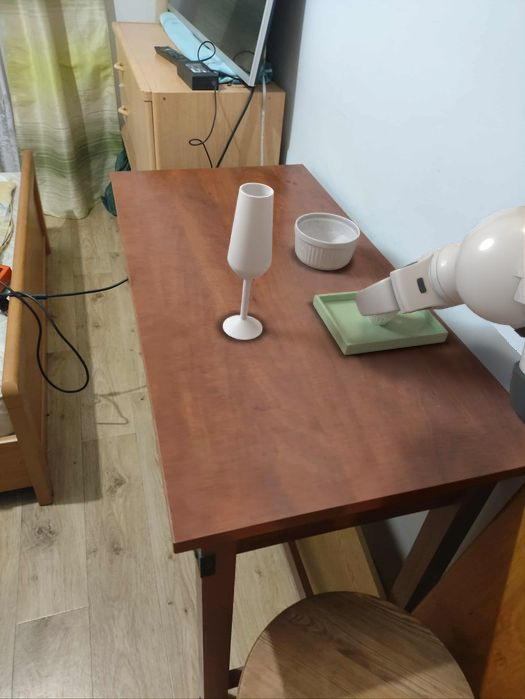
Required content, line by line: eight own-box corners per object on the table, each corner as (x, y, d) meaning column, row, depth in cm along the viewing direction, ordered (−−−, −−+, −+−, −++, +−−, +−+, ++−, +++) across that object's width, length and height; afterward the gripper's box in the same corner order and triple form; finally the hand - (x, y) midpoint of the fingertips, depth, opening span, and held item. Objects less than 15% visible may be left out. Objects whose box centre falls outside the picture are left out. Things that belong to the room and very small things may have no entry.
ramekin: (277, 250, 106) (281, 219, 102) (322, 236, 113) (328, 206, 109) (321, 281, 99) (327, 249, 94) (366, 263, 106) (374, 233, 101)
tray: (404, 295, 98) (407, 286, 97) (444, 341, 88) (448, 332, 87) (312, 304, 93) (314, 294, 91) (344, 355, 83) (347, 345, 81)
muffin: (362, 306, 93) (371, 273, 88) (395, 314, 92) (406, 281, 87) (359, 326, 88) (368, 292, 83) (394, 334, 87) (405, 300, 83)
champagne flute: (264, 317, 88) (282, 183, 72) (260, 342, 83) (279, 203, 67) (225, 312, 88) (235, 177, 72) (219, 336, 83) (229, 196, 67)
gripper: (482, 245, 80) (418, 267, 92) (387, 272, 70) (330, 293, 83) (493, 283, 80) (428, 301, 92) (401, 315, 71) (342, 330, 83)
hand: (381, 297), depth 87 cm, fingers closed on muffin, 6 cm apart
